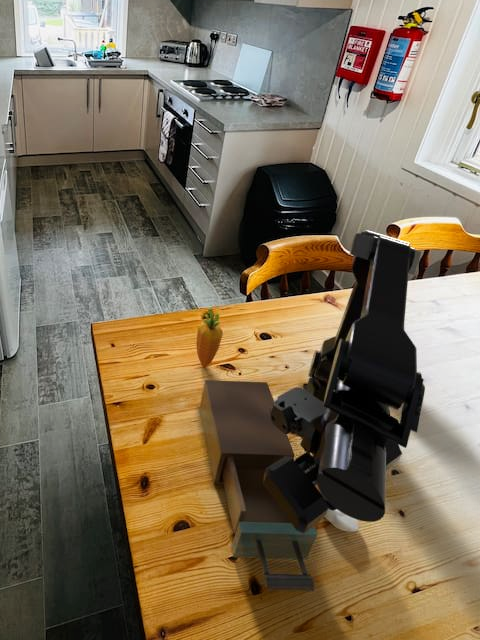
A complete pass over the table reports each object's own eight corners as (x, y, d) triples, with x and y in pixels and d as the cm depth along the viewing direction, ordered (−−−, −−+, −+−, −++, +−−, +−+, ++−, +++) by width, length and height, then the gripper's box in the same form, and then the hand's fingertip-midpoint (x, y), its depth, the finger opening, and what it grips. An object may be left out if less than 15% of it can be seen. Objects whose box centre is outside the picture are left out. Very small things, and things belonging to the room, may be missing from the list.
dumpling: (302, 509, 62) (306, 487, 61) (319, 492, 65) (323, 471, 64) (349, 552, 56) (354, 528, 56) (365, 531, 59) (370, 509, 59)
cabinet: (284, 486, 64) (295, 455, 61) (213, 484, 64) (221, 453, 61) (258, 411, 76) (267, 382, 73) (199, 409, 76) (204, 379, 73)
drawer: (322, 607, 51) (335, 583, 49) (243, 605, 51) (252, 581, 48) (276, 468, 66) (284, 444, 64) (215, 466, 66) (220, 442, 63)
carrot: (215, 378, 82) (227, 324, 76) (191, 373, 83) (201, 319, 77) (215, 358, 87) (225, 306, 81) (192, 354, 87) (201, 301, 82)
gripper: (341, 349, 58) (314, 419, 64) (243, 398, 50) (224, 473, 56) (422, 419, 49) (382, 493, 55) (318, 492, 41) (286, 569, 47)
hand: (317, 502), depth 53 cm, fingers closed
